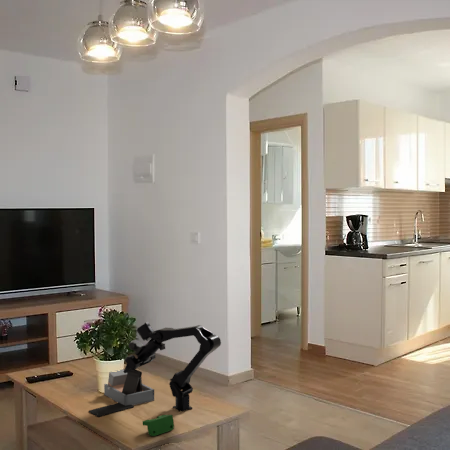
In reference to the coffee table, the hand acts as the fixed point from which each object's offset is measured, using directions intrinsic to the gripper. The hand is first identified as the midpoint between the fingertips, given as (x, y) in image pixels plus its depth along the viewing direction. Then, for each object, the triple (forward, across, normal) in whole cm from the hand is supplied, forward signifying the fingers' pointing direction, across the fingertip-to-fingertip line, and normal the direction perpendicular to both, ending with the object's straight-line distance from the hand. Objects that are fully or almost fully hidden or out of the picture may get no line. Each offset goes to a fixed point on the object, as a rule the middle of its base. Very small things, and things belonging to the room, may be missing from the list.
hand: (129, 369), depth 263 cm
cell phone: (+10, +15, +10) cm, 21 cm away
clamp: (-12, +28, +32) cm, 44 cm away
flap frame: (+11, -2, +8) cm, 14 cm away
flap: (+12, -2, +8) cm, 15 cm away
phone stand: (+7, 0, +8) cm, 11 cm away
